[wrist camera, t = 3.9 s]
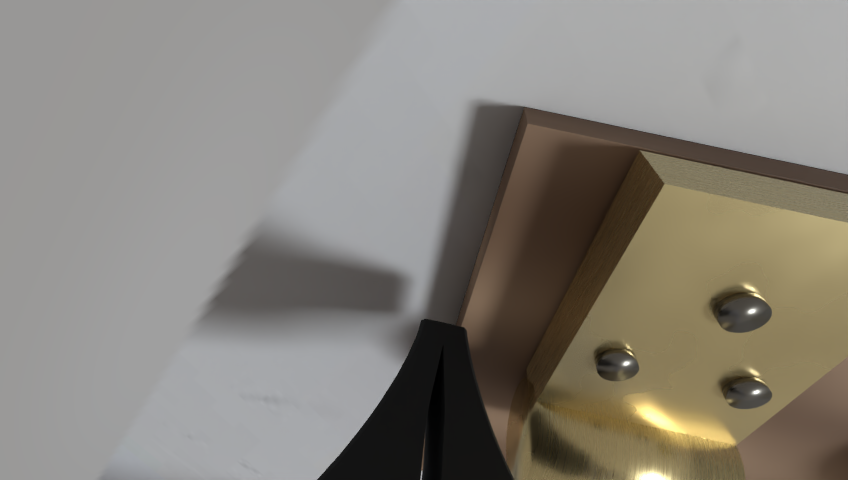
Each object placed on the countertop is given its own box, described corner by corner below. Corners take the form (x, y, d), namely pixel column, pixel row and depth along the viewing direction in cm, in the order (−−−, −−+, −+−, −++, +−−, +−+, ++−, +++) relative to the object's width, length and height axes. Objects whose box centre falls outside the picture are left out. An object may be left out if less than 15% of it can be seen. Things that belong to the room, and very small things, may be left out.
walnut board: (897, 549, 20) (918, 580, 19) (418, 443, 20) (414, 468, 19) (1495, 311, 10) (1605, 350, 9) (524, 106, 10) (527, 123, 9)
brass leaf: (662, 445, 15) (697, 547, 13) (504, 410, 15) (507, 504, 13) (909, 207, 9) (1080, 312, 6) (639, 150, 9) (700, 231, 6)
